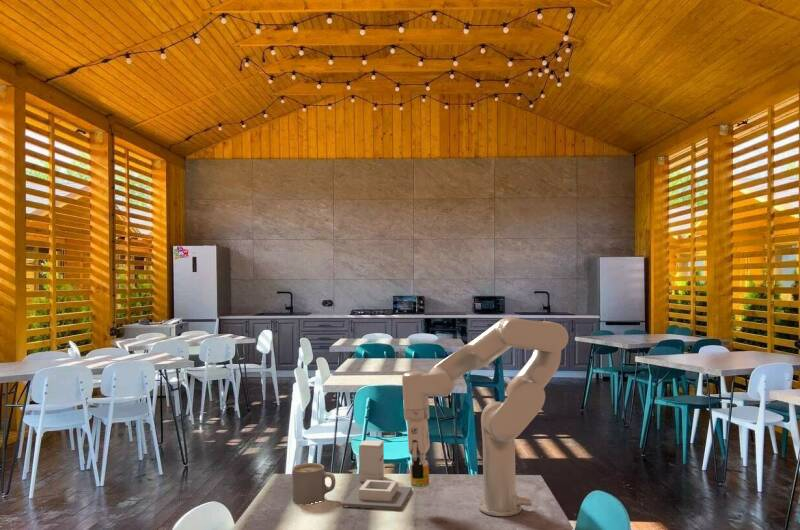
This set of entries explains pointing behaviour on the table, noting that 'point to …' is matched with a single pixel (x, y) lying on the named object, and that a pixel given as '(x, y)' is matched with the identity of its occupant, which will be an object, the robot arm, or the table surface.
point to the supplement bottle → (423, 482)
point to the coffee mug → (310, 483)
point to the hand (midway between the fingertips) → (419, 474)
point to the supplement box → (371, 460)
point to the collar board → (378, 495)
